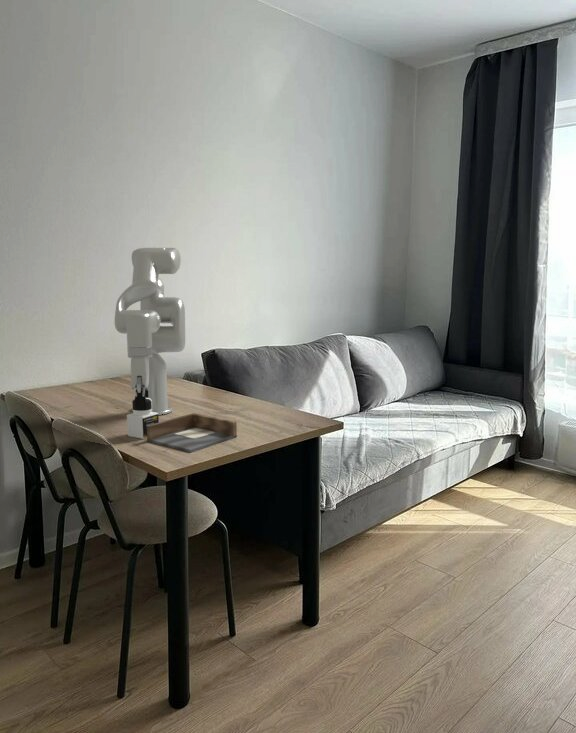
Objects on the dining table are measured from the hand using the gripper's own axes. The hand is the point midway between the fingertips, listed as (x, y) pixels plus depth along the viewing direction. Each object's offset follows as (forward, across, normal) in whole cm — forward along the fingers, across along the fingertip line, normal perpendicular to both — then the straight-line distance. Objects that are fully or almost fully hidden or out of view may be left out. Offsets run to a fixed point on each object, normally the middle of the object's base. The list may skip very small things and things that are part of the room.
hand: (142, 405), depth 199 cm
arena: (+10, +7, +16) cm, 20 cm away
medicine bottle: (+10, 0, 0) cm, 10 cm away
